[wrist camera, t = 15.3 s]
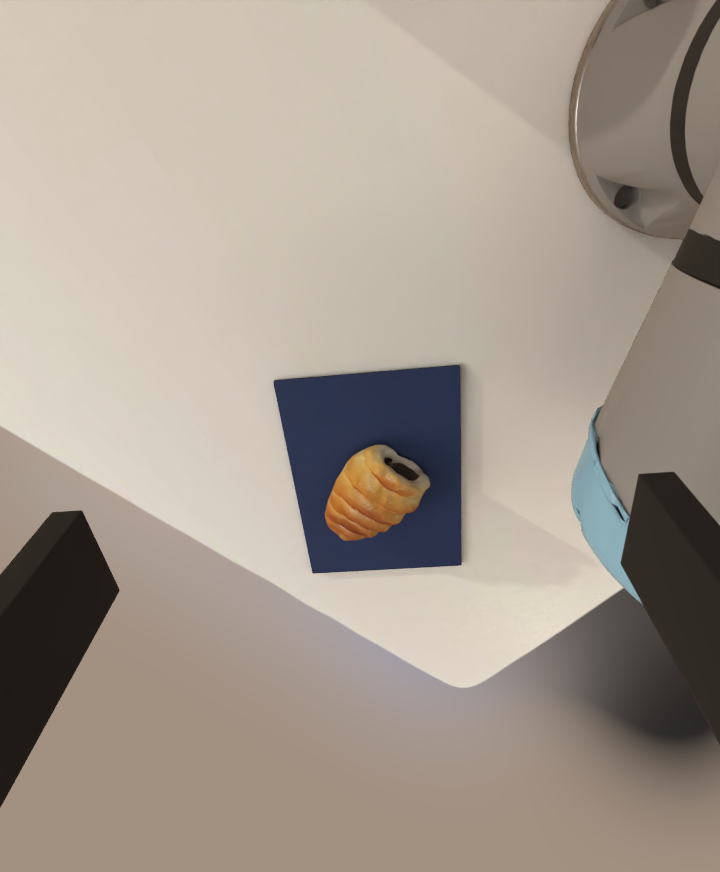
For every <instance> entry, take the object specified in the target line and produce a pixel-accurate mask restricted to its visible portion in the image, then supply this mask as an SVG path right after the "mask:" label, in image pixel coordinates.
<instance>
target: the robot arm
mask: <svg viewBox="0 0 720 872" xmlns="http://www.w3.org/2000/svg"><path fill="white" fill-rule="evenodd" d="M569 140H570V147H571V153H572V157H573V161H574V165H575V168H576V171H577V174H578V177H579V179H580V181H581V183H582V185H583V187H584V189H585V190H586V192H587V193H588V195H589V196H590V198H591V199H592V200H593V201H594V203H595V204H596V205H597V206H598V207H599V208H600V209H601V210H602V211H603V212H604V213H605V214H606V215H608V216H609V217H611V218H612V219H613V220H615V221H617V222H618V223H620V224H622V225H624V226H626V227H628V228H631V229H633V230H636V231H638V232H640V233H643V234H647V235H651V236H655V237H661V238H671V239H684V240H683V242H682V244H681V246H680V248H679V250H678V253H677V255H676V257H675V259H674V260H673V261H672V264H671V266H670V268H669V270H668V272H667V274H666V276H665V278H664V281H663V283H662V285H661V287H660V289H659V291H658V293H657V295H656V297H655V299H654V301H653V303H652V305H651V307H650V309H649V312H648V314H647V316H646V318H645V320H644V322H643V324H642V326H641V328H640V330H639V332H638V334H637V336H636V338H635V340H634V343H633V345H632V347H631V349H630V351H629V353H628V355H627V357H626V359H625V361H624V363H623V365H622V367H621V369H620V371H619V374H618V376H617V378H616V380H615V382H614V384H613V386H612V388H611V390H610V392H609V394H608V396H607V398H606V400H605V402H604V405H603V406H601V407H599V408H597V410H596V412H595V413H594V415H593V417H592V419H591V423H590V426H589V435H588V440H587V442H586V445H585V447H584V450H583V452H582V454H581V457H580V459H579V462H578V464H577V467H576V469H575V472H574V475H573V479H572V486H571V497H572V505H573V509H574V511H575V514H576V516H577V518H578V520H579V521H580V523H581V531H582V533H583V536H584V537H585V539H586V541H587V543H588V544H589V546H590V548H591V549H592V550H593V552H594V553H595V555H596V556H597V558H598V559H599V560H600V562H601V563H602V564H603V566H604V567H605V568H606V569H607V570H608V572H609V573H610V574H611V575H612V576H613V577H614V578H615V579H616V580H617V581H618V582H619V584H620V585H622V586H623V587H624V588H625V589H626V590H627V591H628V592H629V593H630V594H631V595H632V596H633V597H635V598H636V599H637V600H638V601H639V602H640V603H642V604H643V606H644V608H645V609H646V611H647V613H648V615H649V616H650V618H651V620H652V622H653V624H654V626H655V627H656V629H657V631H658V633H659V635H660V637H661V638H662V640H663V642H664V644H665V646H666V648H667V649H668V651H669V653H670V655H671V656H672V658H673V660H674V662H675V664H676V666H677V668H678V669H679V671H680V673H681V675H682V677H683V678H684V680H685V682H686V684H687V686H688V688H689V689H690V691H691V693H692V695H693V697H694V699H695V700H696V702H697V704H698V706H699V708H700V709H701V711H702V713H703V715H704V717H705V718H706V720H707V722H708V724H709V726H710V728H711V729H712V731H713V733H714V735H715V737H716V739H717V740H718V742H719V744H720V0H611V1H610V3H609V4H608V6H607V7H606V9H605V10H604V12H603V13H602V15H601V17H600V19H599V20H598V22H597V24H596V26H595V28H594V29H593V31H592V34H591V36H590V38H589V40H588V42H587V44H586V46H585V49H584V52H583V54H582V57H581V60H580V62H579V66H578V69H577V72H576V76H575V79H574V84H573V89H572V94H571V101H570V109H569ZM118 592H119V588H118V586H117V584H116V582H115V579H114V577H113V575H112V573H111V571H110V569H109V567H108V565H107V562H106V560H105V558H104V556H103V554H102V552H101V550H100V548H99V546H98V543H97V541H96V539H95V537H94V535H93V533H92V531H91V529H90V527H89V524H88V522H87V520H86V518H85V516H84V514H83V512H82V511H67V512H52V513H51V514H50V516H49V517H48V518H47V519H46V520H45V522H44V523H43V524H42V525H41V526H40V528H39V529H38V530H37V531H36V533H35V534H34V535H33V536H32V537H31V539H30V540H29V541H28V542H27V543H26V544H25V546H24V547H23V548H22V549H21V551H20V552H19V553H18V554H17V555H16V557H15V558H14V559H13V560H12V561H11V563H10V564H9V565H8V566H7V568H6V569H5V570H4V571H3V572H2V573H1V575H0V807H1V805H2V804H3V802H4V800H5V798H6V796H7V794H8V792H9V791H10V789H11V787H12V785H13V784H14V782H15V780H16V778H17V776H18V774H19V773H20V771H21V769H22V767H23V765H24V764H25V762H26V760H27V758H28V756H29V754H30V753H31V751H32V749H33V747H34V745H35V744H36V742H37V740H38V738H39V736H40V734H41V732H42V731H43V729H44V727H45V725H46V723H47V722H48V720H49V718H50V716H51V714H52V713H53V711H54V709H55V707H56V705H57V703H58V701H59V700H60V698H61V696H62V694H63V693H64V691H65V689H66V687H67V685H68V683H69V682H70V680H71V678H72V676H73V674H74V672H75V671H76V669H77V667H78V665H79V663H80V662H81V660H82V658H83V656H84V654H85V653H86V651H87V649H88V647H89V645H90V643H91V642H92V640H93V638H94V636H95V634H96V632H97V631H98V629H99V627H100V625H101V623H102V622H103V620H104V618H105V616H106V614H107V613H108V611H109V609H110V607H111V605H112V603H113V602H114V600H115V598H116V596H117V594H118Z"/></svg>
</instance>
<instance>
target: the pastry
mask: <svg viewBox="0 0 720 872" xmlns="http://www.w3.org/2000/svg"><path fill="white" fill-rule="evenodd" d="M429 487H430V481H429V478H428V476H426V475H425V474H424V473H423V471H422V470H421V469H420V468H419V466H418V465H416V464H415V463H414V462H412V461H410V460H408V459H406V458H404V457H400V456H398V455H397V454H396V452H395V451H394V450H393V449H391V448H389V447H388V446H386V445H374V446H371V447H368V448H366V449H364V450H361V451H359V452H357V453H356V454H354V455H353V456H352V457H351V458H350V459H349V461H348V462H347V463H346V465H345V467H344V468H343V470H342V472H341V473H340V475H339V476H338V478H337V479H336V482H335V485H334V487H333V490H332V492H331V495H330V497H329V499H328V502H327V506H326V511H325V519H326V523H327V525H328V526H329V528H330V529H331V530H332V531H333V532H335V533H336V534H338V535H339V537H340V538H341V539H342V540H344V541H350V540H354V541H355V540H360V539H363V538H366V537H369V538H372V537H374V536H376V535H377V533H378V532H386V531H387V530H388V529H389V528H390V527H391V526H392V525H396V524H399V522H400V521H401V520H402V519H403V517H404V515H405V514H406V513H411V512H413V511H415V510H416V509H417V507H418V506H419V502H420V500H421V497H422V495H423V493H424V492H425V490H427V489H428V488H429Z"/></svg>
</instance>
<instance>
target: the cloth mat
mask: <svg viewBox="0 0 720 872" xmlns="http://www.w3.org/2000/svg"><path fill="white" fill-rule="evenodd" d="M274 387H275V392H276V397H277V402H278V407H279V412H280V417H281V421H282V426H283V431H284V436H285V441H286V446H287V451H288V456H289V460H290V465H291V470H292V475H293V480H294V485H295V490H296V495H297V499H298V504H299V509H300V514H301V519H302V524H303V529H304V534H305V538H306V543H307V548H308V553H309V558H310V563H311V568H312V573H329V572H347V571H366V570H384V569H403V568H421V567H439V566H458V565H461V429H460V366H459V365H454V366H442V367H430V368H418V369H406V370H394V371H381V372H369V373H357V374H345V375H333V376H321V377H309V378H297V379H285V380H275V381H274ZM374 445H386V446H388V447H389V448H391V449H393V450H394V451H395V452H396V454H397V455H398V456H400V457H404V458H406V459H408V460H410V461H412V462H414V463H415V464H416V465H418V466H419V468H420V469H421V470H422V471H423V473H424V474H425V475H426V476H428V478H429V481H430V487H429V488H428V489H427V490H425V492H424V493H423V495H422V497H421V500H420V502H419V506H418V507H417V509H416V510H415V511H413V512H411V513H406V514H405V515H404V517H403V519H402V520H401V521H400V522H399V524H396V525H392V526H391V527H390V528H389V529H388V530H387V531H386V532H378V533H377V535H376V536H374V537H372V538H369V537H366V538H363V539H360V540H355V541H354V540H350V541H344V540H342V539H341V538H340V537H339V535H338V534H336V533H335V532H333V531H332V530H331V529H330V528H329V526H328V525H327V523H326V519H325V511H326V506H327V502H328V499H329V497H330V495H331V492H332V490H333V487H334V485H335V482H336V479H337V478H338V476H339V475H340V473H341V472H342V470H343V468H344V467H345V465H346V463H347V462H348V461H349V459H350V458H351V457H352V456H353V455H354V454H356V453H357V452H359V451H361V450H364V449H366V448H368V447H371V446H374Z"/></svg>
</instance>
